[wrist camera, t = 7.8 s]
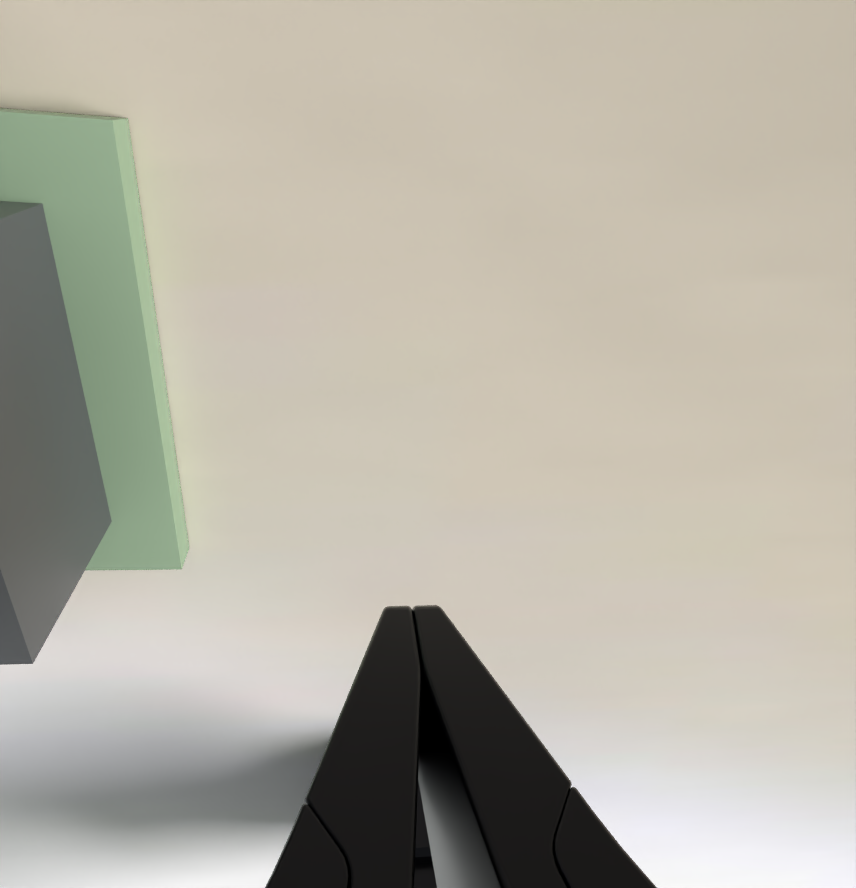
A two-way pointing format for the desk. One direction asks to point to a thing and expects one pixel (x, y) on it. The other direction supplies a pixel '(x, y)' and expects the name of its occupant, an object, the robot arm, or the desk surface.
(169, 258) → the desk surface
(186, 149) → the desk surface
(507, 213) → the desk surface
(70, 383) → the grey c-shaped bracket
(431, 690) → the robot arm
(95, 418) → the board
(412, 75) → the desk surface
